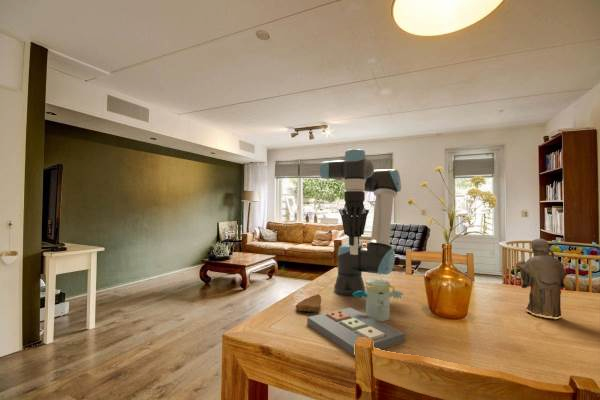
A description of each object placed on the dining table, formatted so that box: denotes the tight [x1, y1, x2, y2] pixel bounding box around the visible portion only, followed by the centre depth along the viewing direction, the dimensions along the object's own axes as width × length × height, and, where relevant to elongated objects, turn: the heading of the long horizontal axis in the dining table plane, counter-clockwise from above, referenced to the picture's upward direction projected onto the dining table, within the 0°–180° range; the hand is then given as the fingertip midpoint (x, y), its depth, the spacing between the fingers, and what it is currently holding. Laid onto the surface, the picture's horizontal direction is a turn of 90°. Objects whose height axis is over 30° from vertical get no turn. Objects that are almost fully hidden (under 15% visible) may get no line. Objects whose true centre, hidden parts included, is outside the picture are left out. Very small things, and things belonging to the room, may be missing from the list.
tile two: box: [341, 318, 366, 331], centre depth 97 cm, size 6×6×3 cm
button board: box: [306, 307, 406, 357], centre depth 97 cm, size 20×26×2 cm
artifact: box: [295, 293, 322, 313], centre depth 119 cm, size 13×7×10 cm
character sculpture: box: [351, 278, 404, 322], centre depth 110 cm, size 20×12×13 cm, turn 92°
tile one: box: [357, 326, 385, 340], centre depth 90 cm, size 6×6×3 cm
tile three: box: [326, 309, 350, 322], centre depth 104 cm, size 6×6×3 cm
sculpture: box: [517, 238, 568, 317], centre depth 116 cm, size 16×11×30 cm
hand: (353, 254), depth 108 cm, fingers closed
